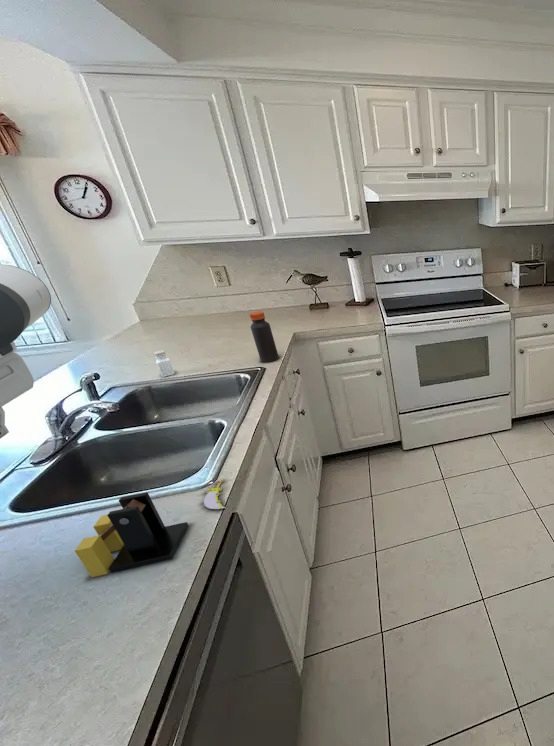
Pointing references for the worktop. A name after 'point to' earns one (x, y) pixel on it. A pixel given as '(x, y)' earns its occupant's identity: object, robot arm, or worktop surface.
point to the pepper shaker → (164, 363)
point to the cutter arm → (129, 505)
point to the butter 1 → (113, 539)
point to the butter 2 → (95, 556)
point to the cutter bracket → (143, 534)
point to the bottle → (263, 337)
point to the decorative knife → (213, 497)
